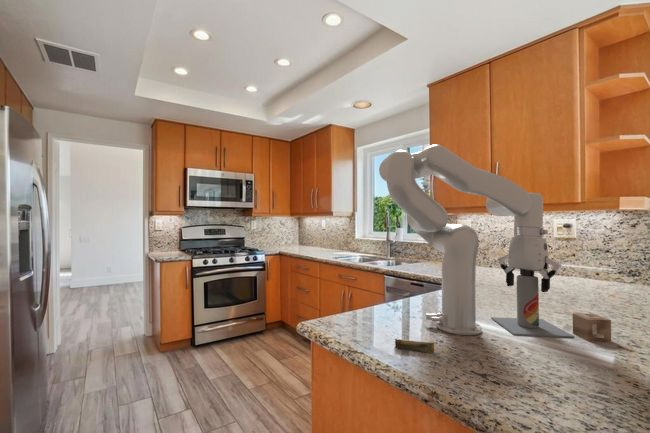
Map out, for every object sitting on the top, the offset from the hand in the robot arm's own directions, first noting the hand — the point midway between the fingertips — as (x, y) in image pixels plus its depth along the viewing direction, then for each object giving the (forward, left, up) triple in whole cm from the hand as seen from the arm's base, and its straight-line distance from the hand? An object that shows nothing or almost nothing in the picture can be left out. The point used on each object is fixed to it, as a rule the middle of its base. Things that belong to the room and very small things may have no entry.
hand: (526, 288), depth 99 cm
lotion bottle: (0, 0, -12) cm, 12 cm away
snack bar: (-38, -23, -12) cm, 46 cm away
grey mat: (+1, 0, -12) cm, 12 cm away
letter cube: (+14, -7, -12) cm, 19 cm away
